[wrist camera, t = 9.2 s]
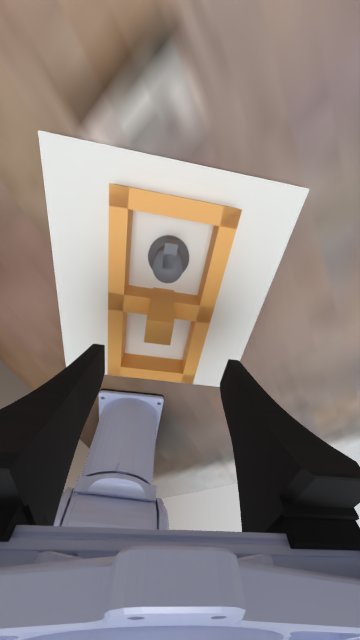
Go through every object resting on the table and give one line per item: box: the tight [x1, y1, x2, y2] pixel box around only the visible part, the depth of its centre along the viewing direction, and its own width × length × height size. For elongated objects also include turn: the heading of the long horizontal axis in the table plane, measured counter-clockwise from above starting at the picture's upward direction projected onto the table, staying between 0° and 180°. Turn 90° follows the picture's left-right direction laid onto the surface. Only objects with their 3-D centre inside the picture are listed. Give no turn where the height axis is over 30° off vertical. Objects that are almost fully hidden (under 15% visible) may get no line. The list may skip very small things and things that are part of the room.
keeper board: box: [38, 130, 309, 387], centre depth 18 cm, size 20×18×5 cm
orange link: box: [107, 183, 242, 384], centre depth 17 cm, size 16×8×6 cm, turn 170°
